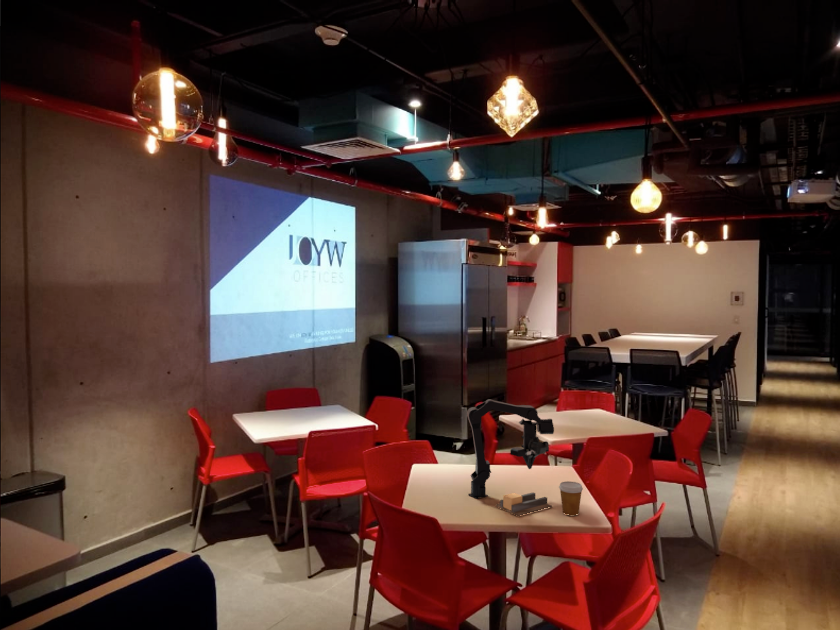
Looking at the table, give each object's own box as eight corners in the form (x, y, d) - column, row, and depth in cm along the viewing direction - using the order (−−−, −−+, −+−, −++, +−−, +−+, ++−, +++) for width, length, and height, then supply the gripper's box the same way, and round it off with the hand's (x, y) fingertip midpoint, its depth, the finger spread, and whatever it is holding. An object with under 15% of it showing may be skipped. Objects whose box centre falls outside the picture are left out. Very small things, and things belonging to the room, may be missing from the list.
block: (503, 507, 245) (503, 495, 245) (513, 504, 249) (514, 492, 249) (511, 510, 241) (511, 498, 241) (522, 508, 245) (522, 496, 244)
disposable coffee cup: (585, 512, 242) (586, 483, 242) (578, 519, 235) (578, 489, 234) (563, 507, 248) (563, 479, 248) (555, 514, 240) (555, 485, 240)
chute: (495, 506, 249) (495, 498, 249) (528, 498, 260) (528, 490, 259) (518, 516, 237) (518, 508, 237) (551, 507, 248) (551, 499, 248)
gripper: (527, 440, 252) (527, 476, 252) (557, 435, 262) (557, 469, 262) (509, 435, 261) (509, 470, 261) (540, 430, 271) (539, 464, 271)
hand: (529, 468), depth 264 cm, fingers closed
